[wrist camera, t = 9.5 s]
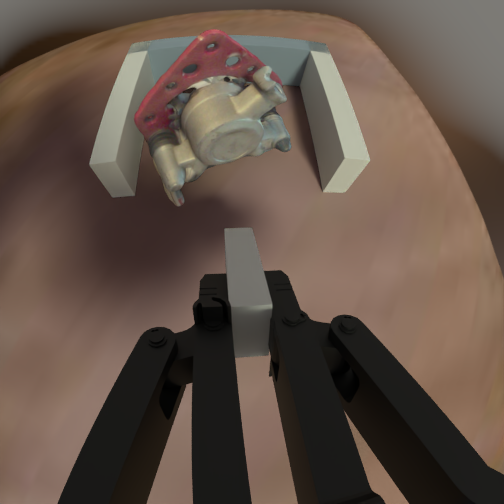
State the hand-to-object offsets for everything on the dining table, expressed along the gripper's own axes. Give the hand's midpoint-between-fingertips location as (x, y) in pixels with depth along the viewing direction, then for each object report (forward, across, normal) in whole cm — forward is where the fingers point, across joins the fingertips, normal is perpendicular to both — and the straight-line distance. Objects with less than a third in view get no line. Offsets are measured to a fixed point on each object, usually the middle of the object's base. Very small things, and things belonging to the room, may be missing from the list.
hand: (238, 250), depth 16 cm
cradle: (+13, 0, +7) cm, 14 cm away
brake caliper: (+11, -1, +4) cm, 12 cm away
